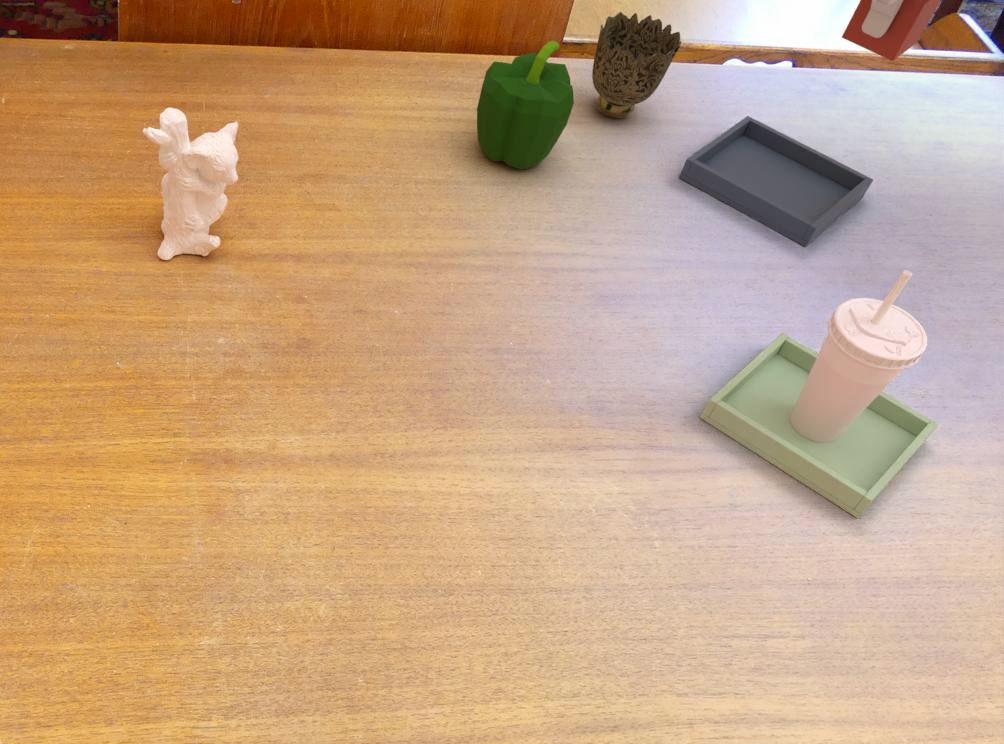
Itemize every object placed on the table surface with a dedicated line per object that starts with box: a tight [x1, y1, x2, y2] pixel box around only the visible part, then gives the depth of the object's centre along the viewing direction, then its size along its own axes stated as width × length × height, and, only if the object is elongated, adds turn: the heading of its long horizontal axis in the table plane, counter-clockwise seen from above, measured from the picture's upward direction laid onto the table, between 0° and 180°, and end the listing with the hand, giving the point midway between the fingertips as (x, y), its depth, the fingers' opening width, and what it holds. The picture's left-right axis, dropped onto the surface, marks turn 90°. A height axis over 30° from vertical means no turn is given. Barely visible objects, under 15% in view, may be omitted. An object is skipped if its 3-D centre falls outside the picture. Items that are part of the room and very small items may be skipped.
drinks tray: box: [699, 332, 939, 519], centre depth 84 cm, size 13×11×2 cm
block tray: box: [678, 115, 874, 248], centre depth 103 cm, size 13×11×2 cm
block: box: [841, 0, 942, 62], centre depth 88 cm, size 4×4×4 cm
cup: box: [591, 11, 682, 119], centre depth 106 cm, size 8×7×8 cm
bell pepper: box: [476, 40, 575, 170], centre depth 100 cm, size 8×8×10 cm
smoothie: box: [790, 269, 928, 443], centre depth 79 cm, size 6×6×14 cm
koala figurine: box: [142, 107, 240, 261], centre depth 88 cm, size 8×7×12 cm
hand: (890, 20), depth 88 cm, fingers closed on block, 4 cm apart
